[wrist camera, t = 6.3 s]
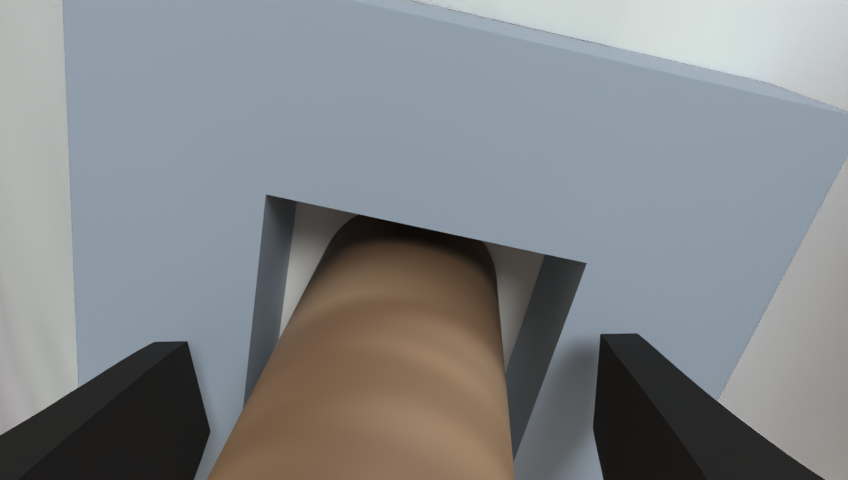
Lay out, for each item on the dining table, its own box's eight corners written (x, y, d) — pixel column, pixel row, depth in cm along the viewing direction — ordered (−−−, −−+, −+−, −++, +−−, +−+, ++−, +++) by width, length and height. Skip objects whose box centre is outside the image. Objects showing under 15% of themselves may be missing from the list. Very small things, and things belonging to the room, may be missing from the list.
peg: (498, 201, 12) (540, 522, 5) (495, 360, 14) (523, 772, 7) (311, 202, 13) (102, 505, 6) (329, 357, 14) (186, 748, 7)
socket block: (770, 83, 12) (866, 118, 9) (577, 512, 17) (601, 619, 14) (157, -59, 11) (59, -68, 8) (146, 428, 16) (83, 522, 13)
